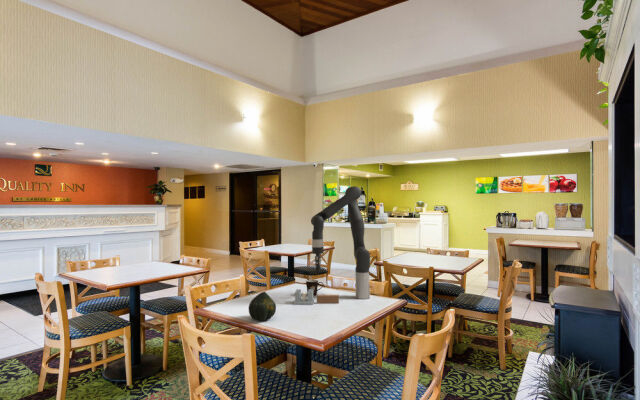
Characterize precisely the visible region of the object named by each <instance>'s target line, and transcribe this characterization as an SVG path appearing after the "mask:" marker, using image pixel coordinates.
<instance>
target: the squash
mask: <svg viewBox="0 0 640 400" xmlns="http://www.w3.org/2000/svg"><path fill="white" fill-rule="evenodd" d="M276 311H277V305H276V302H275V300H274V299H272V297H271V296H270V295H269V294H268V293H267V292H266V291H262V292H260V293H259V294H257V295H256V296H255V297H253V298H252V300H251V301H250V302H249V304H248V313H249V316H250V317H251V318H252V319H254V320H260V321H261V322H265V321H269V320H270V319H271V318H272V317H273V316H274V315H275V314H276Z"/></svg>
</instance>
